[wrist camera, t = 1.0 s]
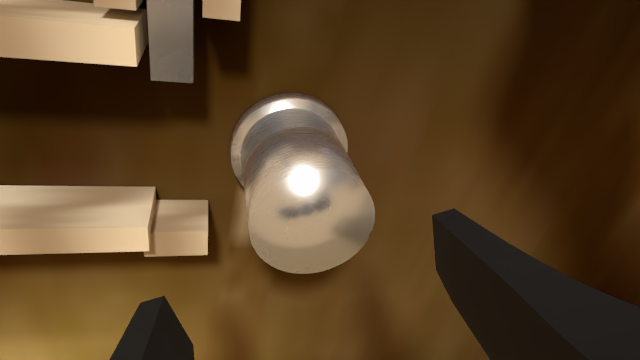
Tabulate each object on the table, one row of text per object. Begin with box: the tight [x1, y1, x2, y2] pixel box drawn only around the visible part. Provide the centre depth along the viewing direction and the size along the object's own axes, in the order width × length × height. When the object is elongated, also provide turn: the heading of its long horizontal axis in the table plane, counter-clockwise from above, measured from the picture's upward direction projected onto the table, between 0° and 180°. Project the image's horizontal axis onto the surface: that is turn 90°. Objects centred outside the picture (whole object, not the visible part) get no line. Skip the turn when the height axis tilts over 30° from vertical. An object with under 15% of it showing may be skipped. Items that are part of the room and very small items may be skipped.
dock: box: [0, 0, 241, 257], centre depth 15 cm, size 11×14×3 cm
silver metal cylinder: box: [230, 92, 375, 274], centre depth 18 cm, size 5×5×6 cm
